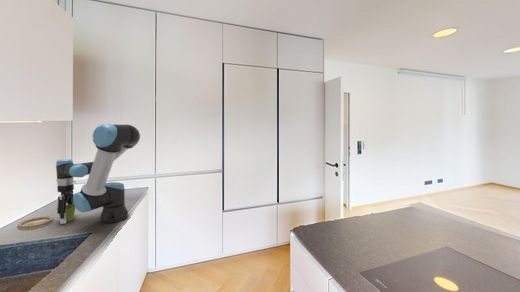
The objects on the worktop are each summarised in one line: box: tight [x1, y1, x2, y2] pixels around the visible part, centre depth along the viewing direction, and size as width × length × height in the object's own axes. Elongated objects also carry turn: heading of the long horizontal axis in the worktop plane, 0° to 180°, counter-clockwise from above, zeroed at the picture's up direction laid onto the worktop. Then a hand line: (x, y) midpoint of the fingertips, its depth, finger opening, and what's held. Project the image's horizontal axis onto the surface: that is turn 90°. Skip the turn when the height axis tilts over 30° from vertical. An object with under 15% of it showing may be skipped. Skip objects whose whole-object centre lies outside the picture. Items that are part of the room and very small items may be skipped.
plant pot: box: [55, 204, 76, 223], centre depth 137 cm, size 9×9×9 cm
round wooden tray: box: [17, 215, 54, 231], centre depth 131 cm, size 14×14×2 cm
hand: (67, 220), depth 137 cm, fingers open, 9 cm apart
